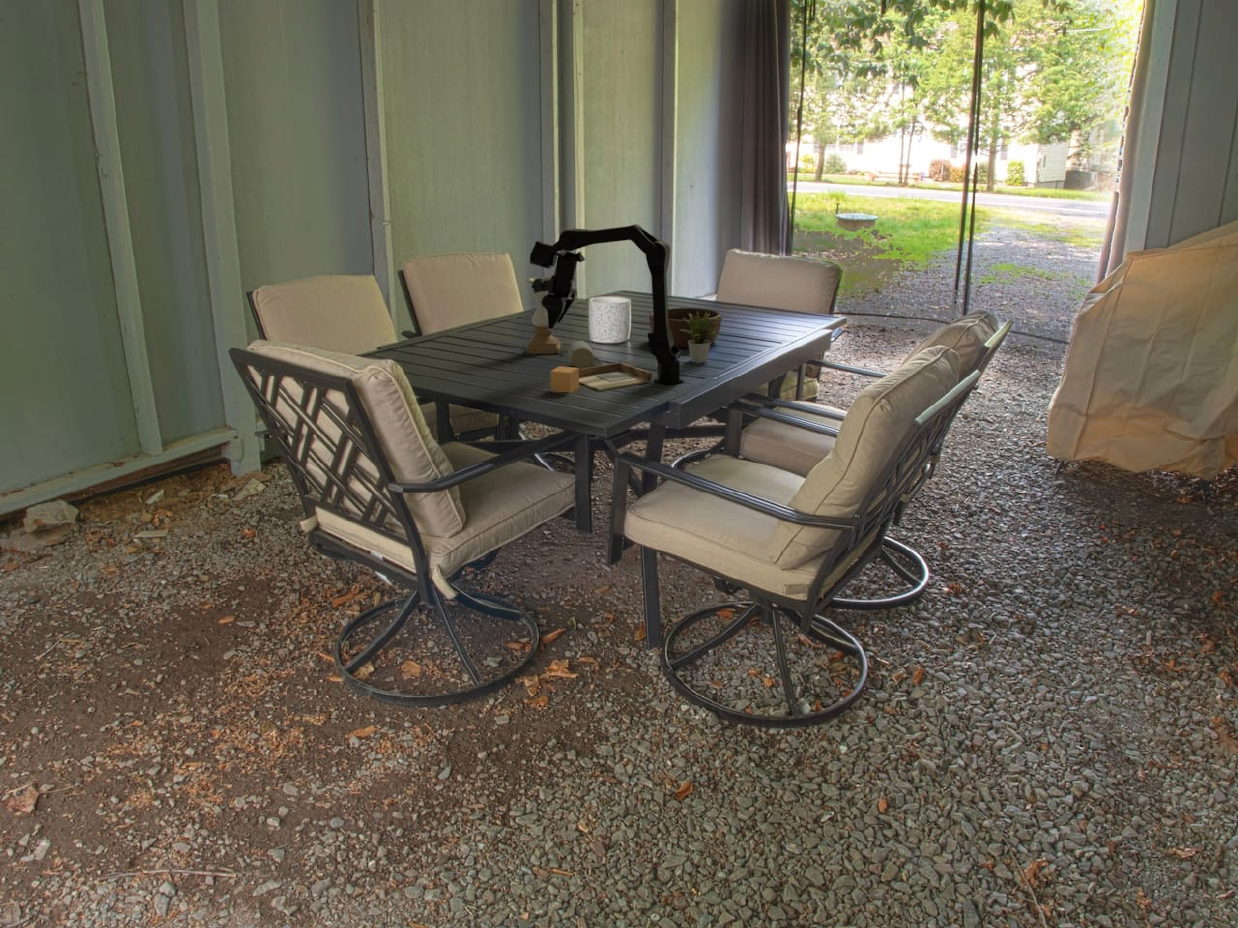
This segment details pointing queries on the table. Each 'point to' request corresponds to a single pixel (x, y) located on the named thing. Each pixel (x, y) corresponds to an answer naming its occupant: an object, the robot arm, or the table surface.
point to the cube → (564, 379)
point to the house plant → (699, 337)
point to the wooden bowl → (680, 323)
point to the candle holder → (542, 328)
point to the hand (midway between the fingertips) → (554, 325)
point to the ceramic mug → (582, 355)
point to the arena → (613, 376)
